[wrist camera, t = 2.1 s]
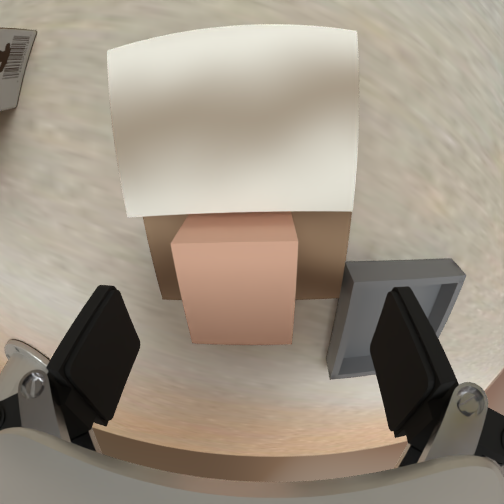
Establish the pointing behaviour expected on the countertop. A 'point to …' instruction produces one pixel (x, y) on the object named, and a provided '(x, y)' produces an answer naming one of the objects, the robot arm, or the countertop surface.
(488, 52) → the countertop surface
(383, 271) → the tray
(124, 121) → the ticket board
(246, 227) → the block
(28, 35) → the coffee box
